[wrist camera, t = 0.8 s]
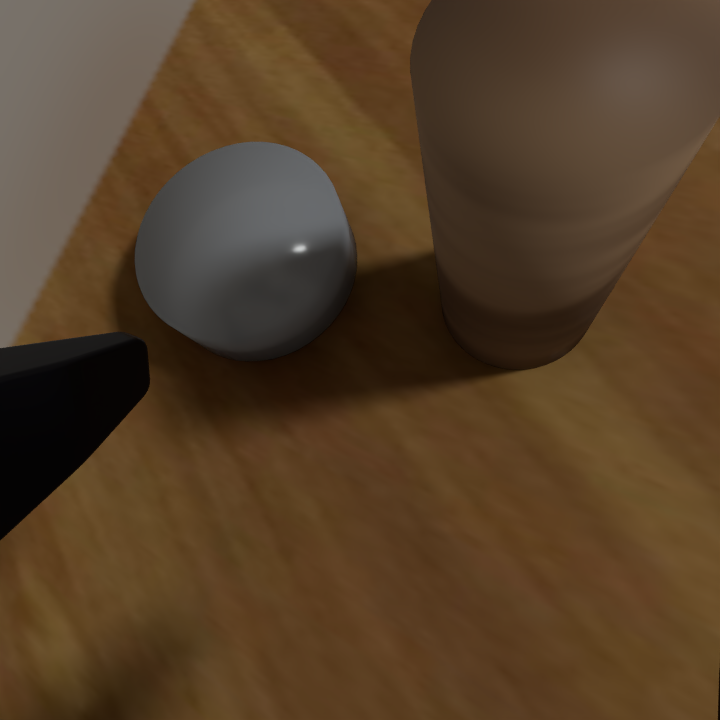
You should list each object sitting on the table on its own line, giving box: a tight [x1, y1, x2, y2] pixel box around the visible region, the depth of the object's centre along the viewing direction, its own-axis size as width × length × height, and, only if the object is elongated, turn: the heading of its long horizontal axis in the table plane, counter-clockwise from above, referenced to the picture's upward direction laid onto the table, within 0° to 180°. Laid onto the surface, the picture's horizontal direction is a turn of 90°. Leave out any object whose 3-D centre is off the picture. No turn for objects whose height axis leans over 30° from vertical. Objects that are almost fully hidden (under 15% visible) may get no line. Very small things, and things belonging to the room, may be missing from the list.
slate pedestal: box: [135, 142, 357, 361], centre depth 23 cm, size 9×9×3 cm
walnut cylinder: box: [410, 0, 720, 370], centre depth 16 cm, size 6×6×12 cm
